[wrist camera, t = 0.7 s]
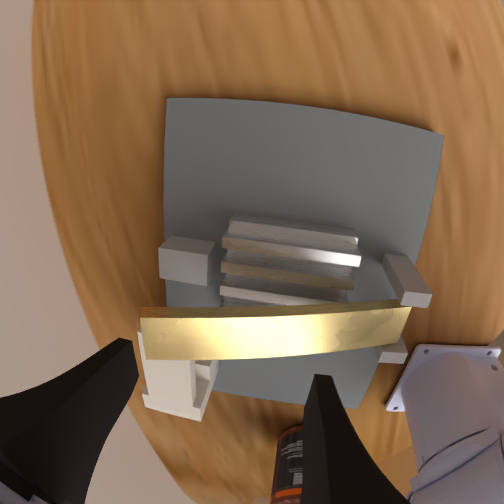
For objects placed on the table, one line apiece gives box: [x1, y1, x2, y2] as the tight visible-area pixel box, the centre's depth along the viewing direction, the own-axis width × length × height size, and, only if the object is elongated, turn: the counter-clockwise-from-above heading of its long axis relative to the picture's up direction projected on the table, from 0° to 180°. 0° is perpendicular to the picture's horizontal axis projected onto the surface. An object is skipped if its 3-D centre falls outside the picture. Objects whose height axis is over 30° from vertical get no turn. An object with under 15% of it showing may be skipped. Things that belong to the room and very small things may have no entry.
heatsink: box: [219, 212, 361, 307], centre depth 18 cm, size 7×7×3 cm
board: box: [158, 98, 444, 409], centre depth 18 cm, size 16×22×6 cm
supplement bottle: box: [270, 425, 303, 504], centre depth 23 cm, size 6×6×11 cm
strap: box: [140, 299, 412, 360], centre depth 14 cm, size 13×2×1 cm, turn 85°
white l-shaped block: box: [137, 327, 219, 421], centre depth 20 cm, size 4×7×5 cm, turn 175°
